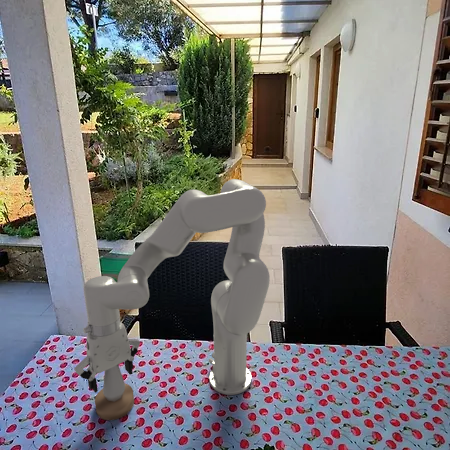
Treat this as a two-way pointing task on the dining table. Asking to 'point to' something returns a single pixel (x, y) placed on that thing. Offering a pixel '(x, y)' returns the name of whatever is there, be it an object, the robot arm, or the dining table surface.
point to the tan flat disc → (114, 405)
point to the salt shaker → (113, 384)
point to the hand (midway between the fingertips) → (112, 380)
